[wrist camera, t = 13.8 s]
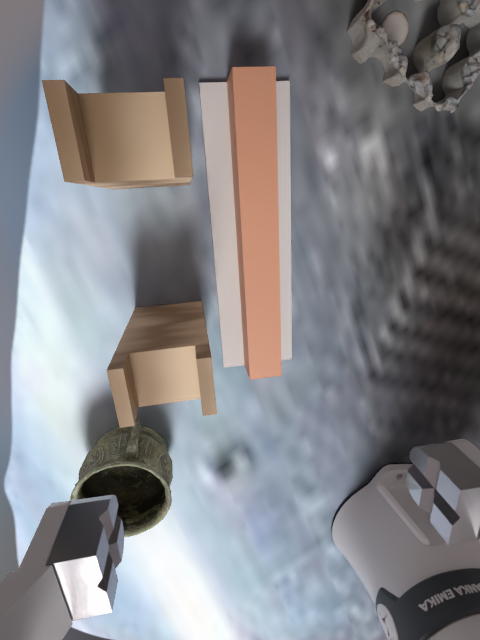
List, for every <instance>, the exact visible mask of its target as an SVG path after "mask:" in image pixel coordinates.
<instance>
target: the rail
mask: <svg viewBox="0 0 480 640" xmlns="http://www.w3.org/2000/svg"><path fill="white" fill-rule="evenodd" d="M227 91H228V107H229V123H230V139H231V156H232V172H233V188H234V204H235V220H236V236H237V252H238V268H239V284H240V300H241V316H242V333H243V349H244V365H245V367H246V370H247V373H248V376H249V378H250V380H251V379H259V378H266V377H274V376H281V375H282V368H281V316H280V264H279V212H278V160H277V108H276V66H269V67H232V69H231V72H230V75H229V77H228V80H227Z"/></svg>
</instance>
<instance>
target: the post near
mask: <svg viewBox="0 0 480 640" xmlns="http://www.w3.org/2000/svg"><path fill="white" fill-rule="evenodd" d="M163 81H164V90H165V92H131V93H88V94H78V93H77V92H76V91H75V90H74V89H73V88H72V87H71V86H70V85H69V84H68V83H67V82H66V81H65V80H42V83H43V88H44V92H45V97H46V101H47V105H48V110H49V114H50V119H51V123H52V128H53V132H54V137H55V141H56V146H57V150H58V155H59V159H60V163H61V168H62V172H63V177H64V181H65V182H71V183H77V184H84V185H90V186H96V187H103V188H109V189H128V188H145V187H162V186H179V185H190V182H191V179H192V176H193V168H192V158H191V148H190V138H189V128H188V118H187V108H186V98H185V88H184V78H163Z"/></svg>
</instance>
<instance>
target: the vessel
mask: <svg viewBox="0 0 480 640" xmlns="http://www.w3.org/2000/svg"><path fill="white" fill-rule="evenodd" d="M172 478H173V475H172V460H171V458H170V456H169V454H168V447H167V445H166V443H165V441H164V439H163V437H161V436H160V435H159V434H158V433H157V432H155V431H154V430H152V429H151V428H149V427H146V426H143V425H140V418H139V417H138V418H137V420H136V423H135V426H130V427H123V428H120V427H117V428H115V429H113V430H110V431H108V432H107V433H106V434H104V435H103V436H102V437H101V438H100V439H98V442H97V444H96V446H95V447H94V448H93V449H92V450H91V451H89V452H88V454H87V456H86V458H85V460H84V462H83V464H82V466H81V468H80V471H79V481H78V482H77V483H76V484H75V488H74V490H73V492H72V494H71V499H70V501H73V500H77V499H85V498H92V497H100V496H107V495H115V496H116V498H117V502H118V505H119V506H118V510H117V516H119V517H120V518H122V523H123V529H124V537H129V536H133V535H137V534H140V533H142V532H144V531H146V530H148V529H150V528H152V527H154V526H155V525H156V524H158V523H159V522H160V521H161V520H163V518H164V517H165V515H166V514H167V512H168V510H169V509H170V506H171V501H172V499H171V491H170V484H171V481H172Z"/></svg>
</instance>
